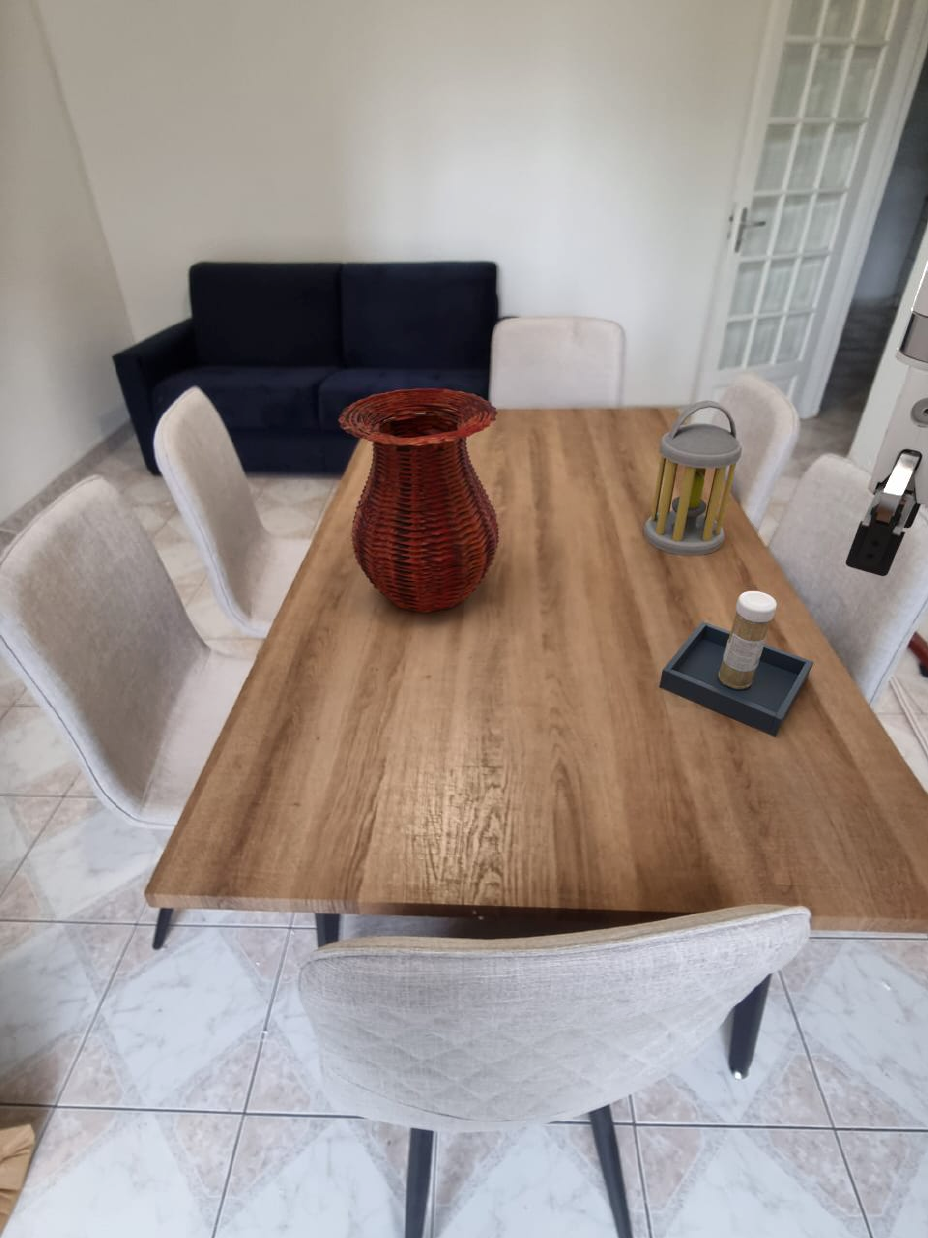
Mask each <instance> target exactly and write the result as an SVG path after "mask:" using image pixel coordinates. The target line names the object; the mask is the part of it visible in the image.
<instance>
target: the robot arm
mask: <svg viewBox="0 0 928 1238" xmlns="http://www.w3.org/2000/svg"><path fill="white" fill-rule="evenodd" d="M901 334H902V335H901V337H900V341H899V343H898V347H897V349H896V352H895V355H894V356H895V358H896V360H897V361H899V362H900V363H901V364H904V365H906V366H908V368H907V371H906V374H905V376H904V379H903V382H902V385H901V387H900V390H899V393H898V396H897V398H896V401H895V404H894V406H893V410H892V412H891V414H890V418H889V421H888V423H887V425H886V429H885V433H884V436H883V438H882V441H881V444H880V447H879V450H878V454H877V456H876V460H875V463H874V466H873V470H872V472H871V475H870V479H869V484H868V487H867V489H868V490H869V492H870V494H871V495H872V496H873V497H872V500H871V502H870V504H869V506H868V508H867V511H866V513H865V516H864V518H863V520H860V522H859V524H858V527H857V529H856V532H855V535H854V538H853V540H852V543H851V546H850V549H849V551H848V554H847V556H846V559H845V565H846V566H847V567H849V568H853V569H856V570H859V571H863V572H866V573H869V574H872V575H876V576H880V577H886V576H888V575H889V572H890V570H891V568H892V565H893V563H894V561H895V558H896V556H897V553H898V551H899V549H900V546H901V545H902V544H901V543H902V542H903V539H904V537H905V535H906V531H903V530H904V529H910V528H912V527H913V524H914V522H915V520H916V517H917V515H918V513H919V510H920V509H921V505H923V506H924V505H925V506H924V508H926V509H928V261H927V262H926V265H925V268H924V271H923V274H922V277H921V279H920V283H919V286H918V288H917V291H916V294H915V297H914V300H913V303H912V306H911V308H910V311H909V314H908V318H907V320H906V323H905V326H904V328H903V331H902V333H901Z"/></svg>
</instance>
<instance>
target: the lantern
mask: <svg viewBox="0 0 928 1238" xmlns="http://www.w3.org/2000/svg"><path fill="white" fill-rule="evenodd" d="M709 408H710V409H711V408H712V409H716V410H719V411H721V412H722V413H723V414H724V415H725V416H726V418H727V421H728V423H729V428H730V430H728V429H726V428H724V427H721V426H719V425H716V424H713V423H706V422H691V423H686V424H683V423H684V422H685V421H686V420H687V419H688V418H689V417H690V416H692V415H693V414H695V413H696V412H698V411H700V410H704V409H709ZM742 450H743V447H742V445H741V442H740V440H739V439H738V438H737V429H736V423H735V420H734V418H733V416H732V414H731V413H730V411H729V410H728V409H727V407H725V406H724V405H722V404H721V403H720V402H718V401H715V400H714V401H713V400H708V399H707V400H702V401H697V402H695V403H693V404H691V405H690V406H688V407H686V408H685V409H684V410H683V411H682V412H681V413H680V414H679V415H678V416H677V418H676V419H675V421H674V422H673V424H672V426H671V428H670V429H669V431H668V432H666V433H665V434H664V435H663V436H662V438H661V439H660V443H659V454H660V459H659V460H660V461H659V466H658V471H657V472H658V473H657V478H656V485H655V491H654V497H653V504H652V510H651V516H650V517H649V518H648V519H647V520H646V522H645V523H644V528H643V536H644V538H645V540H646V541H647V542H648V543H649V544H650V545H652V546H653V547H655V548H656V549H658V550H661V551H663V552H666V553H668V554H669V553H670V554H673V555H678V556H688V557H695V556H696V557H697V556H704V555H705V556H706V555H708V554H712V553H714V552H716V551H717V550H718V549H720V548H721V547H722V545H723V543H724V541H725V537H726V535H725V531H724V528H723V527H722V526H723V523H724V517H725V514H726V509H727V505H728V501H729V496H730V493H731V488H732V483H733V480H734V474H735V472H736V471H735V470H736V467H737V462H739V460H740V459H741V455H742ZM679 465H680V466H682V467H684V472H683V479H682V483H681V488H680V495H679V496H677V497H675V498H673V495H674V488H675V484H676V483H675V482H676V476H677V471H678V466H679ZM728 467H729V468H728ZM727 468H728V472H727ZM665 469H666V470H665ZM711 469H714V474H713V478H712V483H711V487H710V492H709V497H708V500H707V503H706V501H704V500H703V499H702V495H703V490H704V484H705V477H706V471H707V470H711ZM726 472H727V478H726V481H725V476H726ZM664 476H665V477H664ZM724 481H725V484H724ZM723 485H725V486H724V490H723ZM662 487H663V488H662ZM722 490H723V494H722ZM721 495H722V499H721V503H720V498H721ZM672 498H673V499H672ZM719 503H720V508H719V513H718V517H717V519H716V516H717V512H718V507H719ZM659 506H660V507H659ZM671 508H672V509H671ZM704 513H705V514H704Z"/></svg>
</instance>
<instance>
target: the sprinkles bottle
mask: <svg viewBox="0 0 928 1238" xmlns="http://www.w3.org/2000/svg"><path fill="white" fill-rule="evenodd" d="M777 608H778V604H777V601H776V599H775V598H774V597H773V596H772V595H770V594H768V593H766V592H764V591H758V590H748V591H744V592H742V593H740V595H739V596H738V599H737V602H736V605H735V615H734V619H733V621H732V626H731V630H730V631H731V633H730V636H729V639H728V642H727V645H726V649H725V652H724V656H723V662H722V665H721V669H720V671H719V673H718V676H719V679H720V681H721V682H722V683H723V684H724V685H726V686H728V687H730V688H733V689H746V688H748V687H750V686H751V684H752V682H753V676H754V673H755V669H756V667H757V665H758V662H759V659H760V656H761V653H762V650H763V646H764V644H766V640H767V637H768V631H769V628H770V625H771V621H772V620H773V618H775V614H776V611H777Z"/></svg>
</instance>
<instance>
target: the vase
mask: <svg viewBox="0 0 928 1238" xmlns="http://www.w3.org/2000/svg"><path fill="white" fill-rule="evenodd" d="M492 404H493V403H492V402H491V401H488V400H486V399H484V397H482V396H478V395H476V394H475V393H471V392H464V391H462V390H452V389H447V388H432V387H431V388H412V389H396V390H393V391H387V392H383V393H375V394H372V395H369V396H367V397H365V398H362V399H357V401H355V402H351V404H350V405H349V406H347V407H345V408H343V409H342V413H341V414H340V415H339V418H338V419H337V421H338V422H339V423H340V426H339V427H340V429H342V430H345V432H346V433H347V434H349V435H352V436H353V437H354V438H358V439H362V440H366V441H368V442H371V443H372V444H371V446H372V452H373V453H372V459H371V460H372V462H371V464H370V469H369V472H368V475H367V480H366V481H365V485H364V486H363V489H362V491H361V492H362V494H360V495H359V497H360V499H359V500H358V501H357V504H358V505H357V506H356V507H355V509H356V511H355V512H354V516H353V520H352V527H351V529H350V530H351V532H350V537H351V540H350V542H351V543H352V544H351V545H352V547H351V549H352V550H353V551H352V553H353V555H354V558H355V560H356V561H357V564H358V565H359V566H360V569H361V571H362V572H363V573H364V575H365V576H366V578H367V579H368V580H369V582H370V584H372V585H373V588H374V589H375V590H378V591H379V593H380V594H381V595H382V596H385V597H386V599H387V600H389V601H391V603H393V604H395V606H396V607H398V608H401V609H406V610H411V611H415V612H419V613H430V612H435V611H440V610H447V609H453V608H454V607H456V606H457V605H458V604H460V603H461V602H464V601H465V600H466V599H467V598H468V597H469V596H471V594H472V593H473V592H474V591H475V590H477V586H479V585H480V584H481V583H482V582H483V579H484V578H486V577H487V574H488V572H490V566H492V565H493V564H494V560H495V555H496V553H497V548H498V547H499V546H498V543H499V541H500V540H499V538H500V536H499V534H500V532H499V530H500V528H499V523H498V521H497V520H498V518H497V513H496V509H495V508H494V505H493V504H492V500H490V498H489V497H490V495H489V494H487V490H486V488H484V484H482V480H481V479H479V478H480V476H479V475H477V471H475V469H476V468H475V467H474V465H473V464H472V459H470V455H469V451H468V447H467V439H468V437H469V438H470V437H471V436H472V435H474V434H476V433H481V432H483V431H484V430H485V429H487V428H489V427H491V425H492V423H494V422H495V421H496V420H497V419H496V416H497V414H499V413H498V411H497V407H495V406H494V405H492Z"/></svg>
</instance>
